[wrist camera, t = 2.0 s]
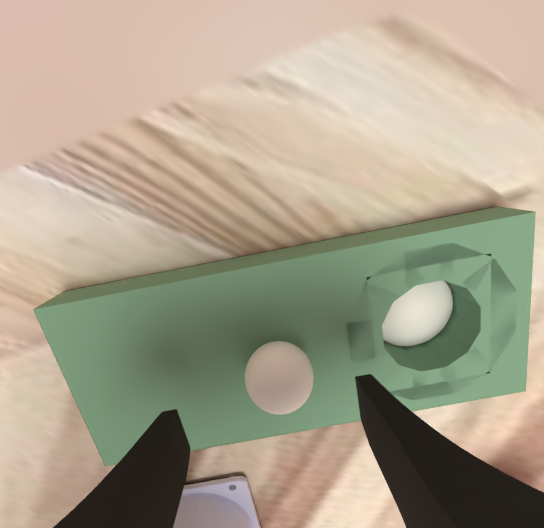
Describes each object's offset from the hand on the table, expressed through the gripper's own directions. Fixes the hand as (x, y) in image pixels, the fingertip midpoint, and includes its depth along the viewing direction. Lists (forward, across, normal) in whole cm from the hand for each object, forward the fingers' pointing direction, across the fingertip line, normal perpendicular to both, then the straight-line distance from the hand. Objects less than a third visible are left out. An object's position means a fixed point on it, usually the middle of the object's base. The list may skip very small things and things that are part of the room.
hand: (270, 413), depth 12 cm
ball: (+2, 0, 0) cm, 2 cm away
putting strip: (+6, -2, 0) cm, 6 cm away
